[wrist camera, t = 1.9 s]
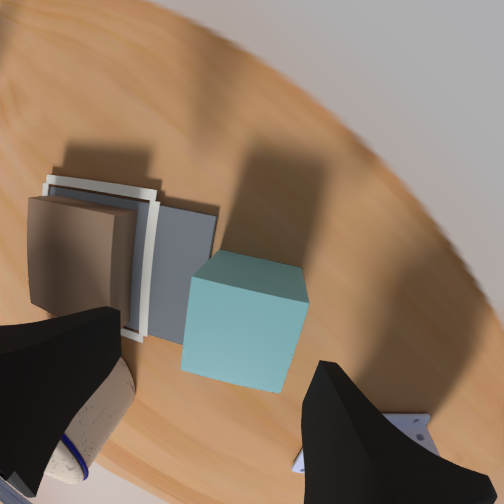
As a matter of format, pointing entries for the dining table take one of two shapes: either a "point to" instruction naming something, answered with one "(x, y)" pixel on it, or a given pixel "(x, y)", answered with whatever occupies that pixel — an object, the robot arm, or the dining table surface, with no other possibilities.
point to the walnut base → (79, 255)
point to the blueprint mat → (153, 254)
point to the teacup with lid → (92, 427)
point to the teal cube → (244, 320)
